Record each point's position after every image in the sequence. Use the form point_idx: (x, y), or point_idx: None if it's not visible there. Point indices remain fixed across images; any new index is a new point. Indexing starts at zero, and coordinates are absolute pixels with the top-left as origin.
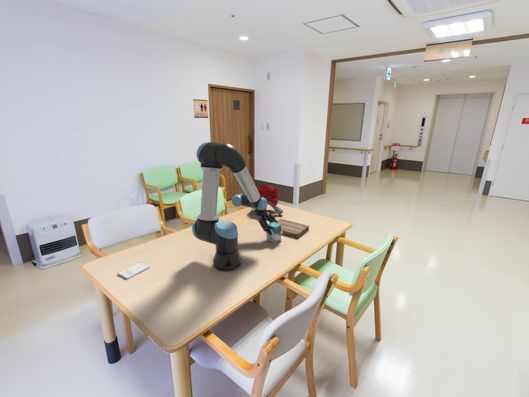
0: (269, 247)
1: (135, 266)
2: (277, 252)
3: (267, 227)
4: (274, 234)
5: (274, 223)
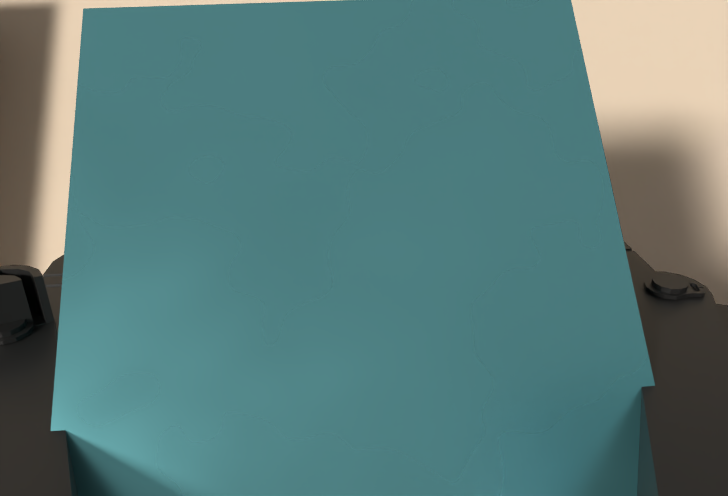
0: (668, 232)
1: None
2: (693, 33)
3: (723, 351)
4: None
5: (228, 275)
